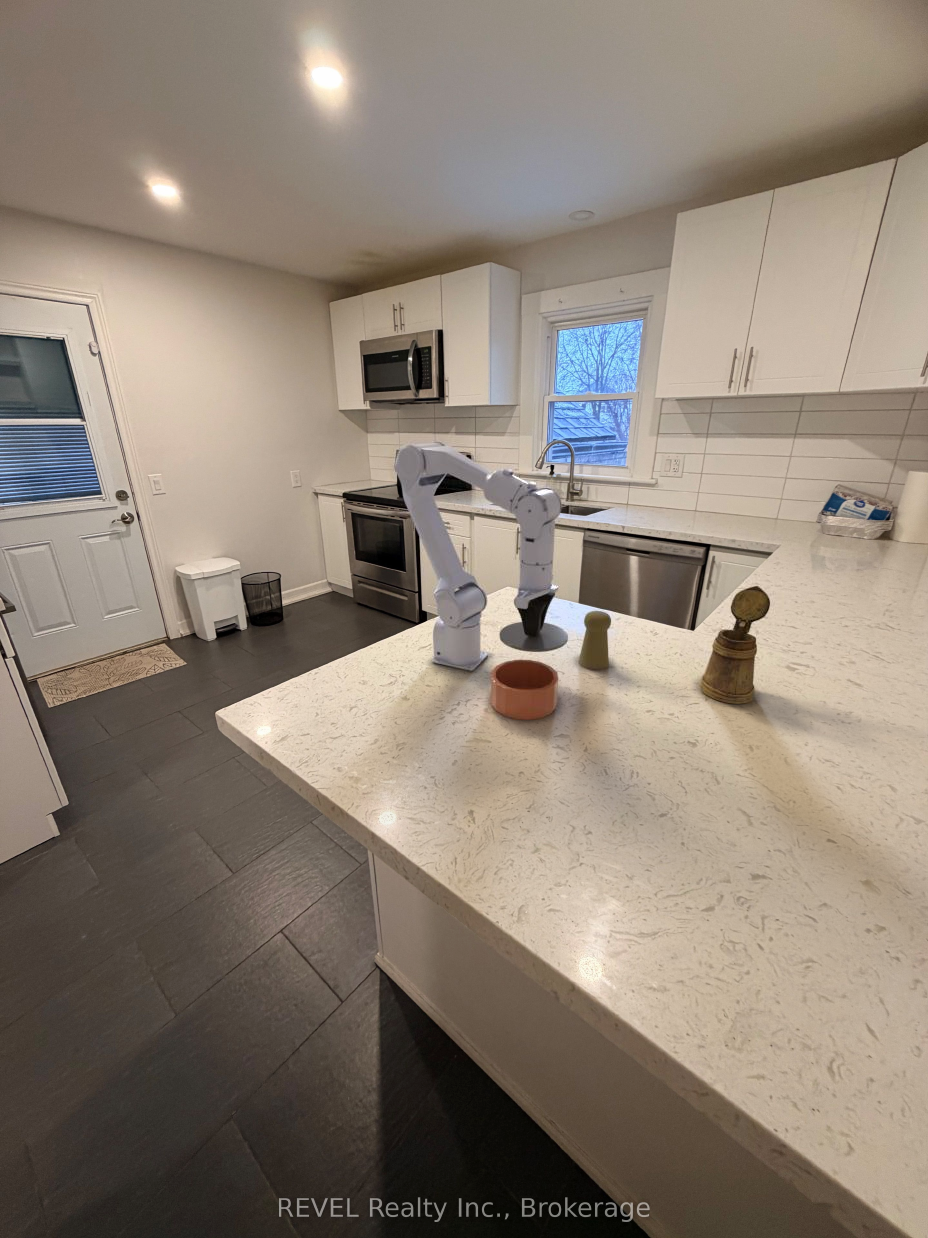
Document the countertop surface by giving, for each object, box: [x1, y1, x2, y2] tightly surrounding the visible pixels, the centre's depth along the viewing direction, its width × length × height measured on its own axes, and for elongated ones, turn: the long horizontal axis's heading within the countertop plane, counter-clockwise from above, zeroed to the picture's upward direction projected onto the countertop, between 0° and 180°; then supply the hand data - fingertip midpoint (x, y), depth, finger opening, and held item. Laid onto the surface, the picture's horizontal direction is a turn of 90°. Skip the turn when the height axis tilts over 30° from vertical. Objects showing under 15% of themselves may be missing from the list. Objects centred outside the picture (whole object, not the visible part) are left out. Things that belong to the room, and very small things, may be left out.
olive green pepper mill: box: [578, 610, 612, 670], centre depth 100 cm, size 6×6×11 cm
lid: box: [498, 618, 569, 653], centre depth 91 cm, size 13×13×4 cm
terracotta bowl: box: [490, 659, 559, 721], centre depth 88 cm, size 12×12×5 cm
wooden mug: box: [699, 585, 771, 705], centre depth 89 cm, size 9×14×18 cm, turn 140°
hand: (533, 632), depth 91 cm, fingers closed on lid, 2 cm apart
